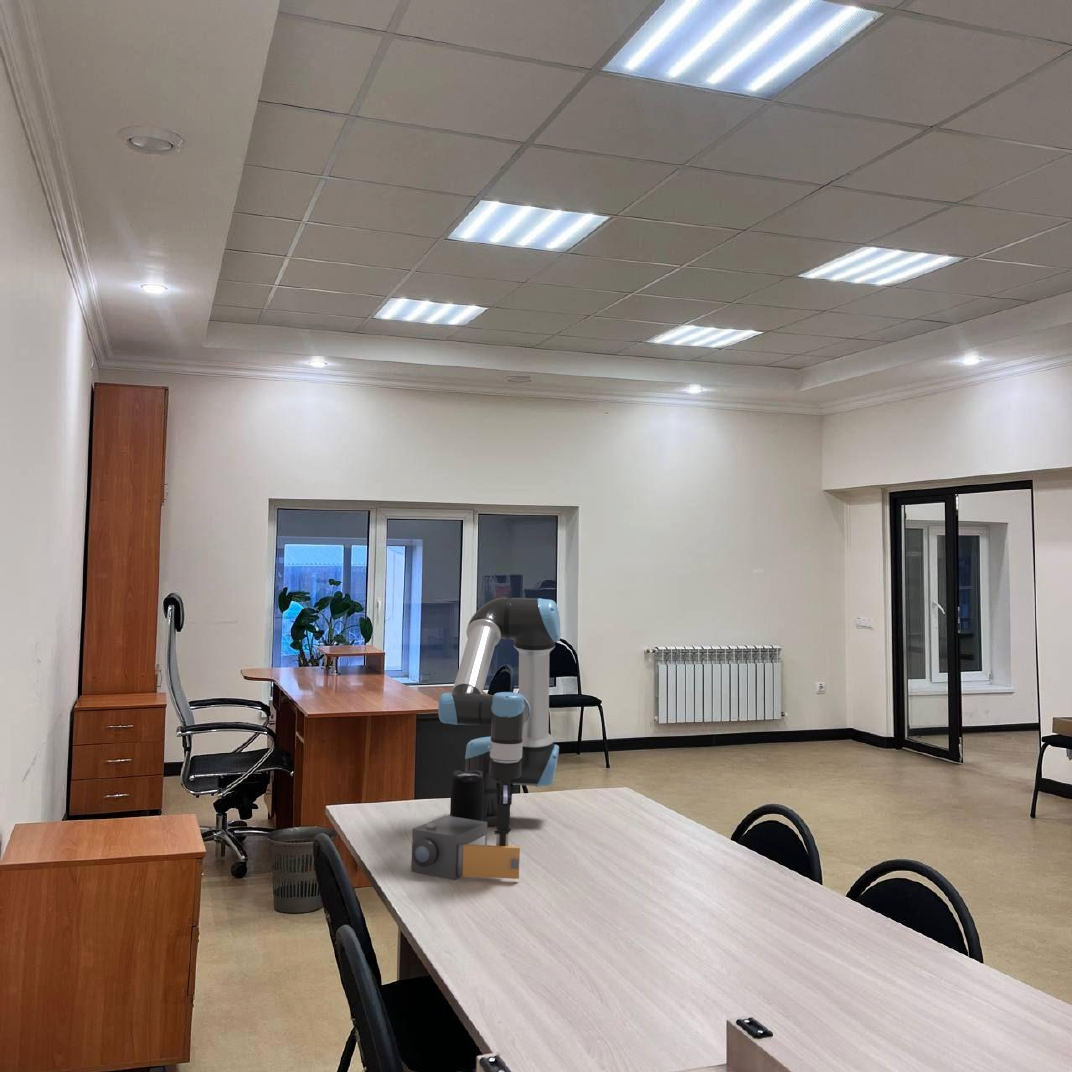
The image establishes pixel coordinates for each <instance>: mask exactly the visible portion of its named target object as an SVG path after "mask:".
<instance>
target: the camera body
mask: <svg viewBox="0 0 1072 1072" xmlns="http://www.w3.org/2000/svg"><path fill="white" fill-rule="evenodd" d="M411 833H412V836H411V859H410V860H411V861H410V872H411V873H416V874H422V875H425V876H432V877H436V878H441V879H447V880H452V881H456V880H458V879H460V878H462V877H463V876H458V850H459V844H470V845H488V843H487V841H488V826H487V822H484V821H477V820H471V819H465V818H459V817H453V816H450V815H446V814H445V815H443V816H440V817H437V818H436V819H433V820H431V821H428V822H426V823H424V824H422V825H419V826H416V827H414V828H412V832H411Z"/></svg>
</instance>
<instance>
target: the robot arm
mask: <svg viewBox="0 0 1072 1072" xmlns="http://www.w3.org/2000/svg"><path fill="white" fill-rule="evenodd" d="M466 638H467V641H466V644H465V648H464V651H463V654H462V658H461V660H460V664H459V668H458V671H457V674H456V678H455V681H454V684H453V688H452V690H451V692H443V693H442V694H441V695H440V697H439V701H438V707H437V709H438V711H437V713H438V718H439V721H440V722H441V723H443V724H448V725H449V724H450V725H456V726H459V725H461V726H462V725H463V726H483V727H490V728H491V729H490V731H491V732H490V736H485V737H484V736H483V737H478V738H474V739H471V740H470V741H469V742H467V744H466V747H465V748H466V749H465V756H464V760H465V763H464V766H465V767H464V771H473V770H477V771H481V772H483V781H484V819H483V821H484V822H487V827H491V826H493V827H494V826H496V830H494V835H496V837H495V839H496V840H495V841H496V842H495V846H509V834H510V832H511V831H512V829H511V827H510V821H511V805H512V800H513V794H514V786H515V785H517V786H530V787H531V786H532V787H536V788H537V787H549V786H551V785H552V784H553V783H554V780H555V776H556V771H557V766H558V760H559V753H560V746H559V745H557V744H554V743H555V742H554V741H555V739H554V737H553V736H552V735H551V734H550V733H549V724H550V723H549V722H550V721H549V719H550V716H549V715H550V711H549V710H550V708H549V707H550V653H551V652H552V651H553V650H554V649H555V647H556V643H557V642H560V640H561V619H560V611H559V608H558V605H557V603H556V601H555V600H552V599H545V598H541V597H540V598H538V597H537V598H536V597H535V598H533V597H498V598H495V599H492V600H489V601H488V602H486V603H485V604H484V605H482V606H481V607H479V609H478V610H477V611H475V613H474V614H473V615H472V617H471V618H470V620H469V623H468V625H467V628H466ZM501 640H513V647H514V649H515V650H516V651H517V652H518V692H512V691H501V692H496V693H494V694H493V695H492V694H483V693H484V689H485V685H486V681H487V677H488V674H489V669H490V666H491V661H492V657H493V655H494V650H495V646H497V645H498V644H499V643H500V641H501Z"/></svg>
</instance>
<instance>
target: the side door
mask: <svg viewBox="0 0 1072 1072" xmlns="http://www.w3.org/2000/svg"><path fill="white" fill-rule="evenodd" d="M520 851H521V846H512V845H508V846H496V845H491V844H490V845H489V844H487V845H470V844H459V850H458V876H462V877H466V878H467V877H469V878H470V877H471V878H495V879H511V880H513V879H514V880H515V879H516V880H517V879H518V880H519V879H520V860H521V859H520V855H521V852H520Z"/></svg>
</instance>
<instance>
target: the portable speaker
mask: <svg viewBox="0 0 1072 1072" xmlns="http://www.w3.org/2000/svg"><path fill="white" fill-rule="evenodd" d="M451 783H452V785H451V791H450V807H449V809H450V811H449V812H450V813H449V816H453V817H459V818H465V819H471V820H477V821H483V819H484V781H483V772H481V771H477V770H473V771H465V770H464V771H461V770H454V771H453V772H452V782H451Z"/></svg>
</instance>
